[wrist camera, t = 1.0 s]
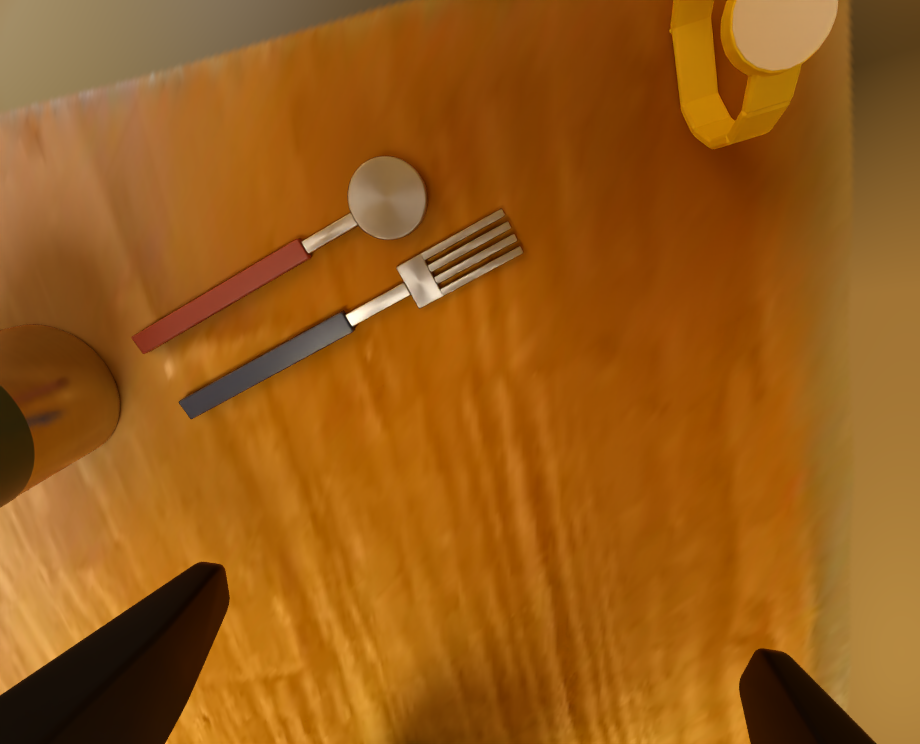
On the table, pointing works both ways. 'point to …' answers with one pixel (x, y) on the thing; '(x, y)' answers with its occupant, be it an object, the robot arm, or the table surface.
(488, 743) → the table surface
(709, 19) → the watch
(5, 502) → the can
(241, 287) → the spoon
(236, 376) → the fork
